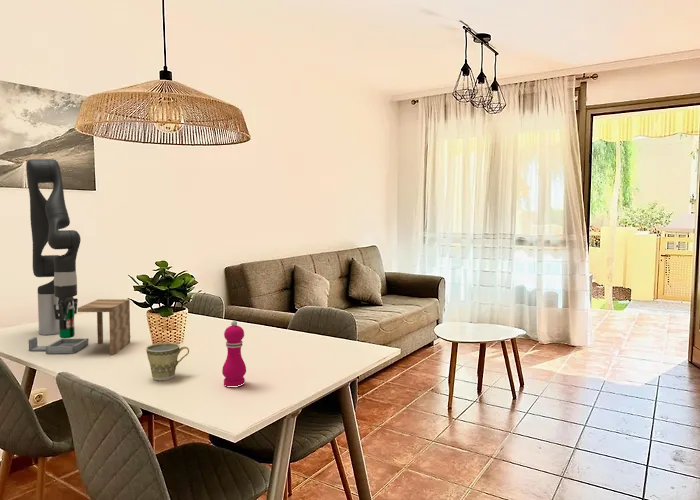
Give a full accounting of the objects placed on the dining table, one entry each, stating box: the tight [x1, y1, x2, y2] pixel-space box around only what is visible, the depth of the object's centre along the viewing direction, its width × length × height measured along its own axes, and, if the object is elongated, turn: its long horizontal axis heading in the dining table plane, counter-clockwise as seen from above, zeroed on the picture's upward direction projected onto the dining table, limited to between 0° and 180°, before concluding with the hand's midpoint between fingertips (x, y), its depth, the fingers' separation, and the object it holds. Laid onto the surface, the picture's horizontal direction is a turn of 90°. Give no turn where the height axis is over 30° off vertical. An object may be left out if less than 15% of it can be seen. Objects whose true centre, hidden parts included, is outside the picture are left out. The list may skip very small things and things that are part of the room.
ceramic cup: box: [145, 342, 190, 382], centre depth 162 cm, size 13×10×10 cm
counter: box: [77, 298, 131, 356], centre depth 193 cm, size 18×12×18 cm, turn 5°
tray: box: [28, 336, 89, 354], centre depth 191 cm, size 12×18×4 cm, turn 95°
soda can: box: [58, 305, 76, 339], centre depth 190 cm, size 5×5×12 cm
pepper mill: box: [221, 320, 247, 386], centre depth 155 cm, size 7×7×20 cm
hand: (66, 328), depth 191 cm, fingers closed on soda can, 5 cm apart
